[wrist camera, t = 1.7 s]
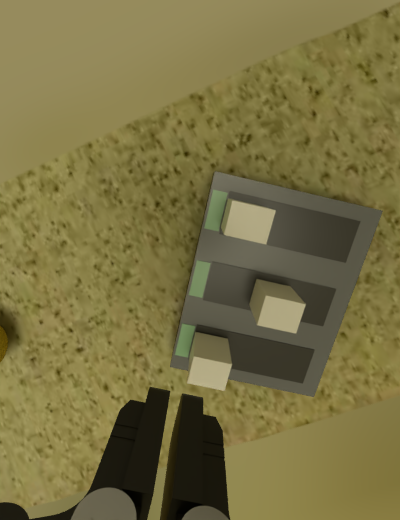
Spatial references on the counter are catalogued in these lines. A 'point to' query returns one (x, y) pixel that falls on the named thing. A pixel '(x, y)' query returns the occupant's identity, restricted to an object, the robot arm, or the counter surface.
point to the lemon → (3, 343)
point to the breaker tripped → (276, 306)
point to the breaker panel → (275, 281)
